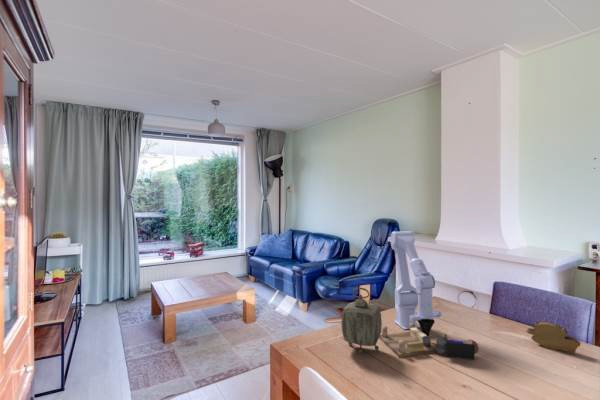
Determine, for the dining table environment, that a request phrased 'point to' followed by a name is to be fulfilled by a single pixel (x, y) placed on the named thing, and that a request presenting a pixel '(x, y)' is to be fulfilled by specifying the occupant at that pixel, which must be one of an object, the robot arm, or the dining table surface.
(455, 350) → the character figurine
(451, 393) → the dining table surface
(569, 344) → the wooden carving
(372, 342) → the green bag
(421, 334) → the leg bar
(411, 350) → the stool seat
